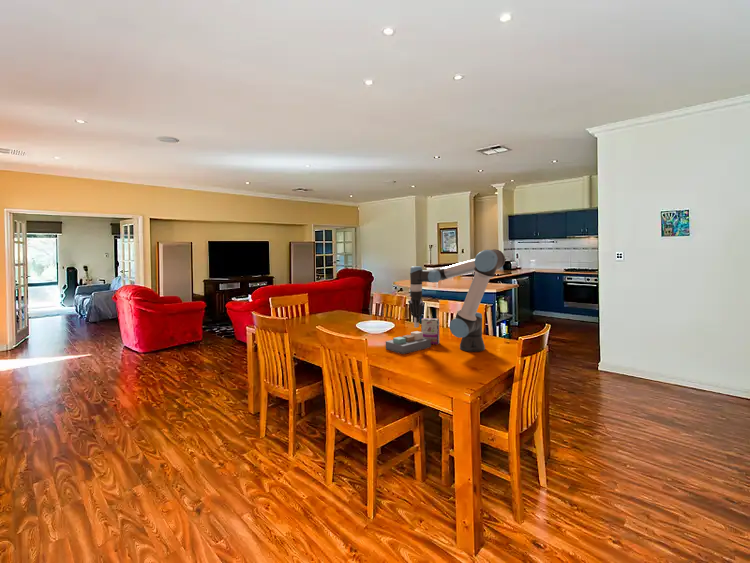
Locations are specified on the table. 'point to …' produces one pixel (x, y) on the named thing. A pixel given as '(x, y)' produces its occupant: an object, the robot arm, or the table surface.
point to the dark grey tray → (408, 346)
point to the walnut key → (409, 338)
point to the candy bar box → (430, 329)
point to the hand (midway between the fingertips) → (416, 327)
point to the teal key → (399, 340)
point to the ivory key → (417, 335)
